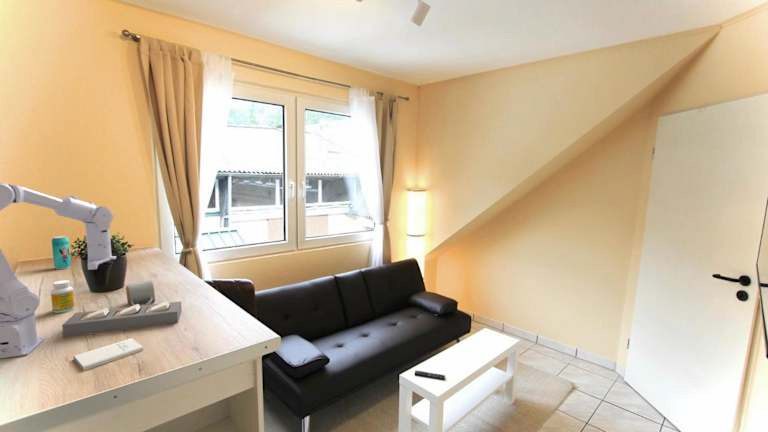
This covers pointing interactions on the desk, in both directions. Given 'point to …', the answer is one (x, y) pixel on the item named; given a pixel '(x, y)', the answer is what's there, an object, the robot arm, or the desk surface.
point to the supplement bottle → (62, 297)
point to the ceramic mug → (140, 293)
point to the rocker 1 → (96, 314)
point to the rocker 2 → (129, 310)
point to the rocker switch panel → (121, 320)
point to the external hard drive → (107, 354)
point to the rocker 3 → (159, 307)
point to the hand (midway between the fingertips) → (102, 285)
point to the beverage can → (61, 252)
